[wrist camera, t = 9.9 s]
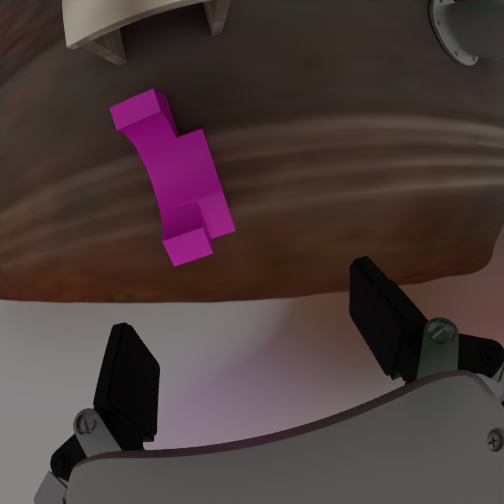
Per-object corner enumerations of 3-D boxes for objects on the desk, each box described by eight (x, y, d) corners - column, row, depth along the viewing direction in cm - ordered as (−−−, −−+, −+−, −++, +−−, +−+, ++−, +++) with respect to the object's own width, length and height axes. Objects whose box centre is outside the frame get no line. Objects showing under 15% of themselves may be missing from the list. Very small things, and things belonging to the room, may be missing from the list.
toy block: (230, 214, 31) (239, 244, 24) (179, 232, 30) (174, 266, 24) (189, 87, 23) (184, 76, 17) (132, 109, 23) (109, 108, 16)
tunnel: (214, -10, 17) (223, -63, 8) (226, 33, 20) (241, -11, 11) (105, 24, 17) (61, -10, 7) (113, 67, 20) (66, 47, 10)
